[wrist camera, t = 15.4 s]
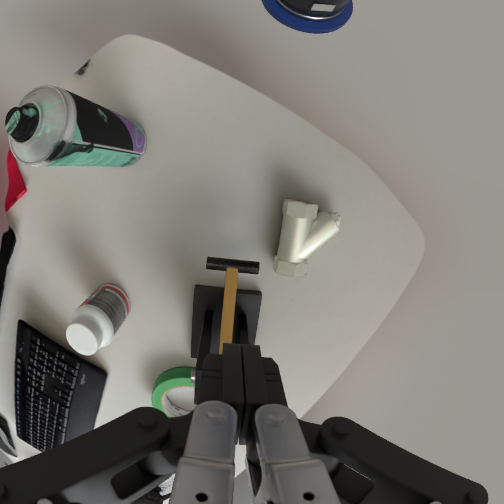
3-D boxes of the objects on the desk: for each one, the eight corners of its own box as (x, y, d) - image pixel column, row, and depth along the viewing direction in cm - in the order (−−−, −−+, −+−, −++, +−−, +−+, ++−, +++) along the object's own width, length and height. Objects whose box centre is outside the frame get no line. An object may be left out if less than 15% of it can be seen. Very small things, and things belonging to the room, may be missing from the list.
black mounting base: (195, 284, 35) (178, 341, 23) (261, 291, 36) (275, 350, 23) (191, 352, 37) (179, 420, 25) (250, 358, 38) (258, 427, 26)
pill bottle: (100, 276, 34) (64, 308, 24) (136, 295, 35) (109, 333, 25) (90, 309, 35) (57, 345, 26) (124, 327, 36) (98, 369, 26)
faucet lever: (207, 258, 29) (207, 254, 27) (257, 264, 30) (260, 259, 27) (196, 386, 27) (194, 393, 24) (246, 390, 27) (248, 397, 25)
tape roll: (241, 385, 39) (242, 397, 37) (208, 426, 41) (207, 437, 39) (171, 354, 37) (167, 365, 35) (145, 400, 39) (141, 411, 37)
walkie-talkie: (121, 497, 46) (149, 482, 41) (140, 491, 51) (172, 474, 46) (134, 516, 43) (166, 506, 38) (152, 509, 48) (188, 496, 43)
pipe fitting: (335, 206, 34) (281, 197, 33) (349, 210, 30) (291, 201, 29) (323, 269, 36) (271, 265, 35) (335, 281, 32) (278, 276, 31)
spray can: (154, 131, 30) (62, 85, 11) (134, 174, 31) (23, 181, 12) (117, 114, 29) (8, 69, 10) (97, 156, 30) (-24, 152, 11)
